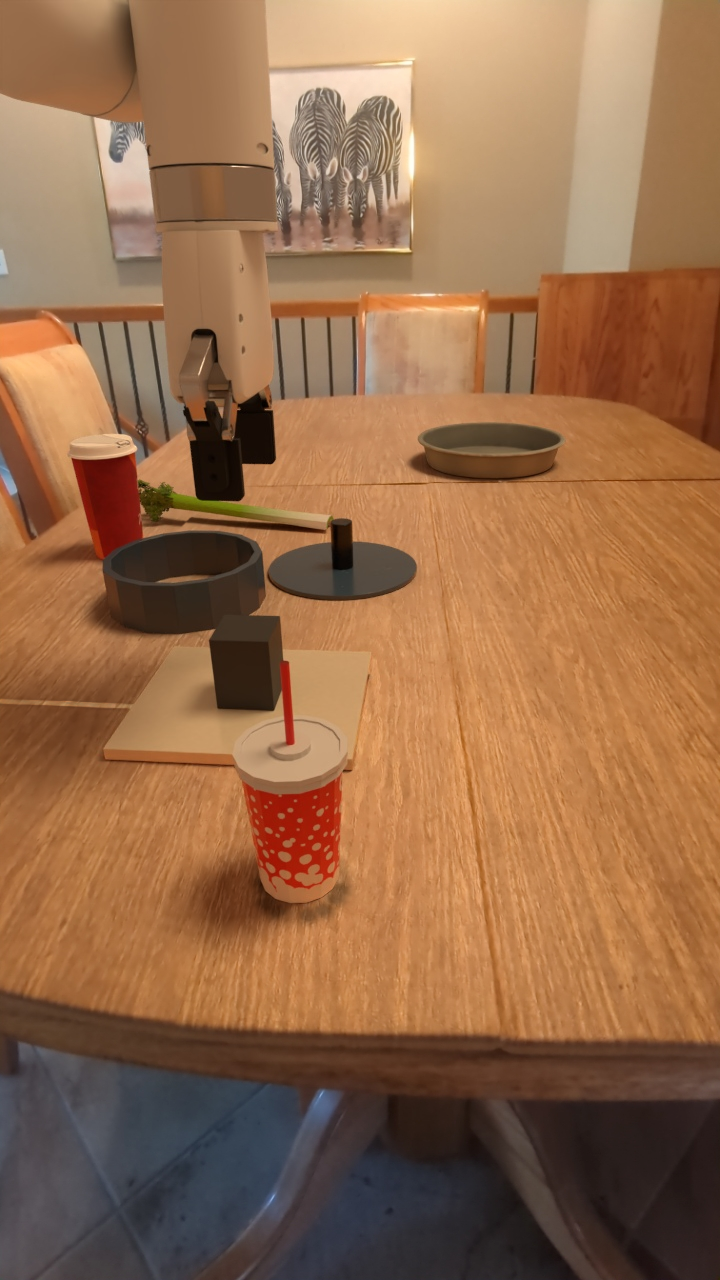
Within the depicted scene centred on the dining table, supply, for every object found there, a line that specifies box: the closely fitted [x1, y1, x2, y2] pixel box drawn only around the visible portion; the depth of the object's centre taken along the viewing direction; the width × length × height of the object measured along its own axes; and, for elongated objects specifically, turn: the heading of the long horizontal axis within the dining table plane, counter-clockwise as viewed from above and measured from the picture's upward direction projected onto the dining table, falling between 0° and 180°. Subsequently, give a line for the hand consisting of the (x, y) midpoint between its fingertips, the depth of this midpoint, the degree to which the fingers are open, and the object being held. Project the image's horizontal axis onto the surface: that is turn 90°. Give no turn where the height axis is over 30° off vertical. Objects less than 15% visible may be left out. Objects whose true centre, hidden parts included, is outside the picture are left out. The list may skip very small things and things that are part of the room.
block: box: [208, 614, 284, 711], centre depth 59 cm, size 4×4×6 cm
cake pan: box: [417, 421, 566, 479], centre depth 128 cm, size 25×25×4 cm
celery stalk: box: [138, 478, 335, 531], centre depth 101 cm, size 6×7×30 cm
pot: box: [102, 529, 267, 635], centre depth 77 cm, size 16×16×6 cm
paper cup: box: [66, 433, 144, 560], centre depth 89 cm, size 8×8×14 cm
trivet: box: [102, 645, 373, 771], centre depth 60 cm, size 18×16×1 cm
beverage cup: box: [232, 661, 348, 904], centre depth 41 cm, size 6×6×14 cm
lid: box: [268, 517, 418, 601], centre depth 84 cm, size 17×17×6 cm
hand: (239, 480), depth 54 cm, fingers open, 9 cm apart
